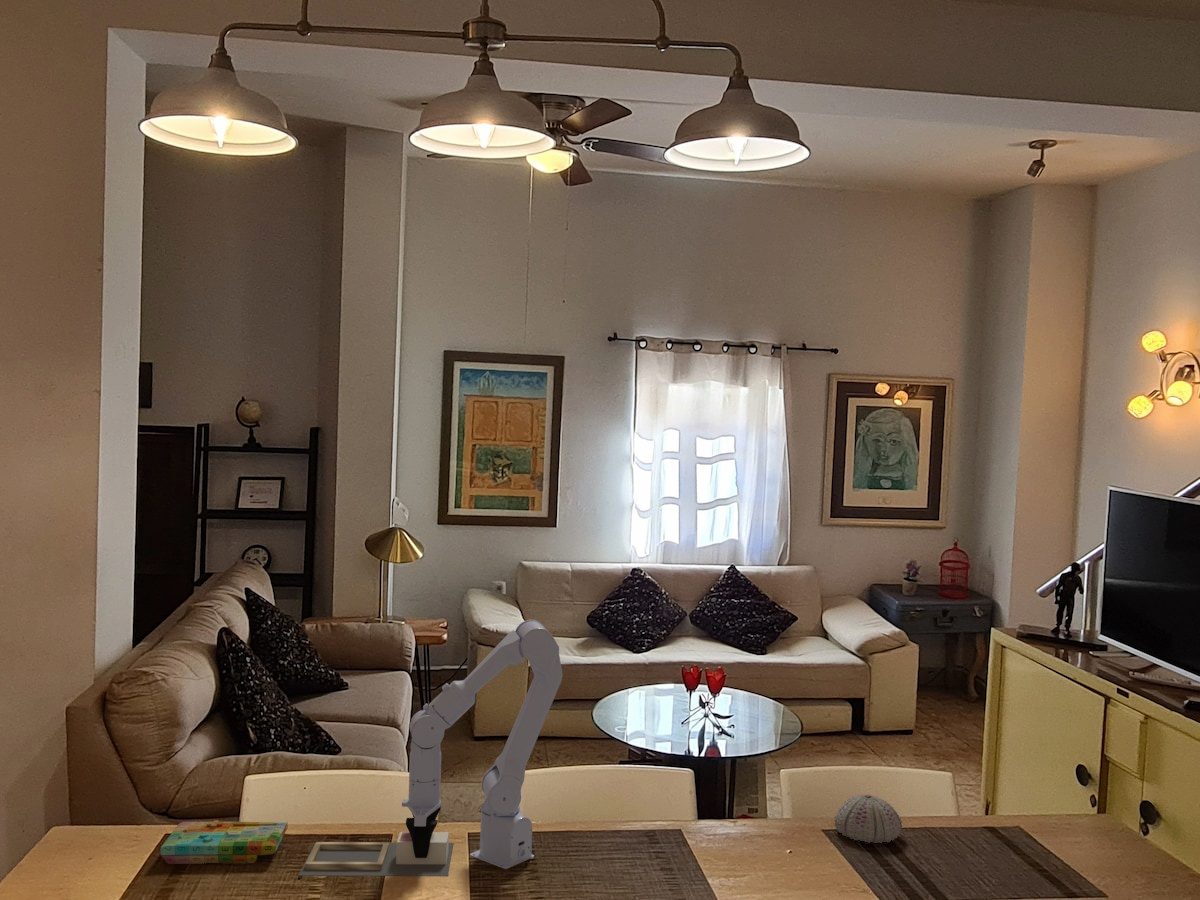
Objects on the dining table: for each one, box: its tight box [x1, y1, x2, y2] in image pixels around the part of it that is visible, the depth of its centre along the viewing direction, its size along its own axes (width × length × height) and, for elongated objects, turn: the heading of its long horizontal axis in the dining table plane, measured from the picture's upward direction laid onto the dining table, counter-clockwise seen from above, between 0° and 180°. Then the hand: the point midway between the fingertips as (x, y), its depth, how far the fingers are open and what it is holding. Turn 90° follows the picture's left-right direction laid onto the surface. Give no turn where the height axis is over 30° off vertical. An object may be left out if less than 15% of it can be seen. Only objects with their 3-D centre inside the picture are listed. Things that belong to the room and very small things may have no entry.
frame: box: [304, 841, 389, 870], centre depth 193 cm, size 14×10×1 cm
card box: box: [396, 831, 450, 864], centre depth 194 cm, size 9×5×4 cm, turn 94°
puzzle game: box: [159, 819, 289, 865], centre depth 195 cm, size 12×5×20 cm
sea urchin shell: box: [834, 794, 903, 844], centre depth 214 cm, size 13×14×8 cm
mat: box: [298, 841, 455, 879], centre depth 193 cm, size 26×15×1 cm, turn 94°
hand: (422, 851), depth 194 cm, fingers closed on card box, 5 cm apart
